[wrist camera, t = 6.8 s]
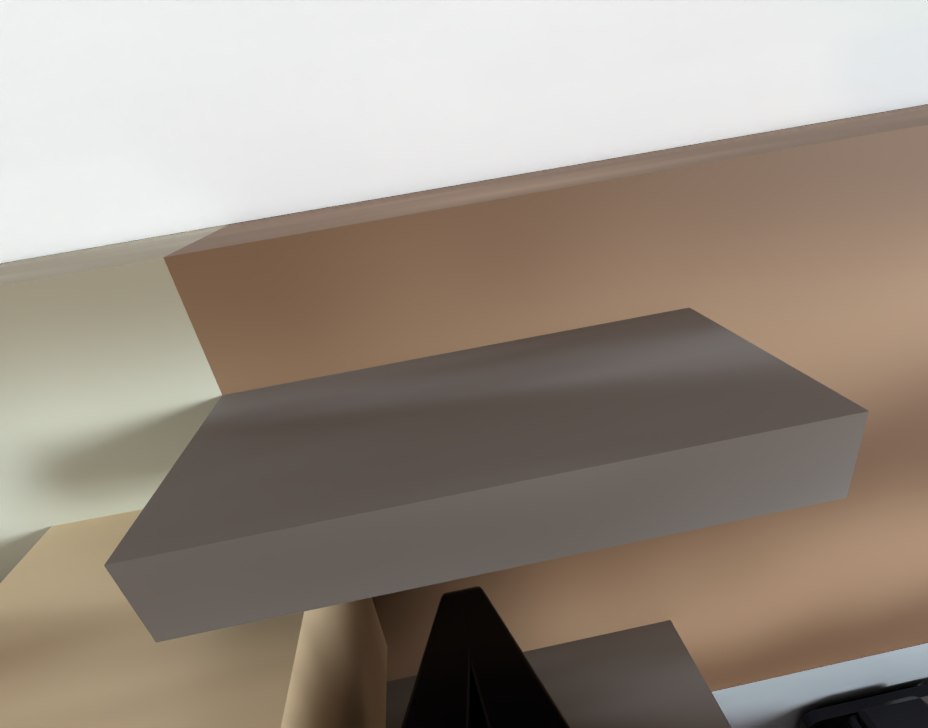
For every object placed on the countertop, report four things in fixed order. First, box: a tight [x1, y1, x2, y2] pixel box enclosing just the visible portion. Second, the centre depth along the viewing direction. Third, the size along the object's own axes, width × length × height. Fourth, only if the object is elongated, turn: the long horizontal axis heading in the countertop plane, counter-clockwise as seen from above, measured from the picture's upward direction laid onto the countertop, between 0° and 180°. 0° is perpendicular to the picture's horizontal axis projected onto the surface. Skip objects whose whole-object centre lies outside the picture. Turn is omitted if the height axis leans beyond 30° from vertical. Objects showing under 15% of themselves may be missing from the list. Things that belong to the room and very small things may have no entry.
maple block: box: [0, 509, 388, 728], centre depth 8 cm, size 5×5×4 cm
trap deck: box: [0, 104, 928, 728], centre depth 10 cm, size 14×35×6 cm, turn 99°
